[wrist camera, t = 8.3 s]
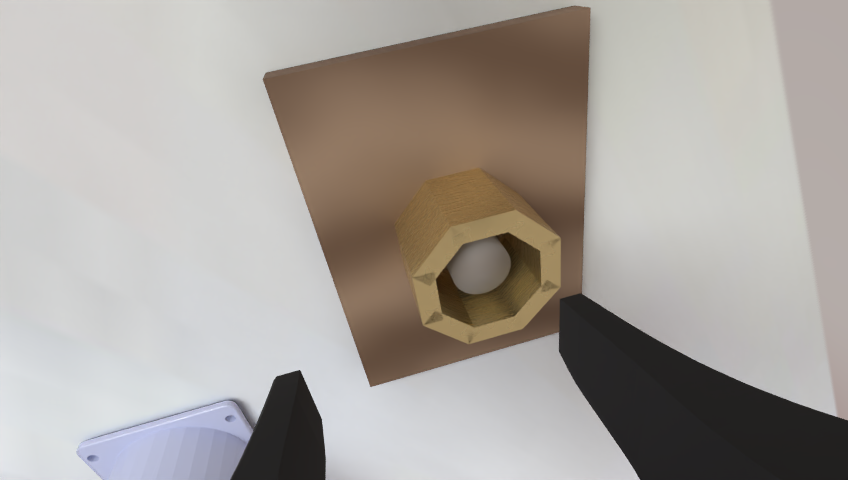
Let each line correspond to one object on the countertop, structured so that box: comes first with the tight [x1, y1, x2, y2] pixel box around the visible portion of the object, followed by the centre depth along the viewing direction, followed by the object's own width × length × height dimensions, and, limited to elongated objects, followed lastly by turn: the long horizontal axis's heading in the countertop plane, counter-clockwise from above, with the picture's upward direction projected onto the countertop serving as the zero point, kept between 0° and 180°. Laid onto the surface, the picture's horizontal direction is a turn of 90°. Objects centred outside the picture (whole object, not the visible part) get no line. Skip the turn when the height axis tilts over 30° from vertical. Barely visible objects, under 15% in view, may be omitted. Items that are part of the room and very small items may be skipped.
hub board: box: [263, 6, 590, 387], centre depth 19 cm, size 16×12×4 cm
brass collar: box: [394, 168, 561, 344], centre depth 18 cm, size 6×6×4 cm
